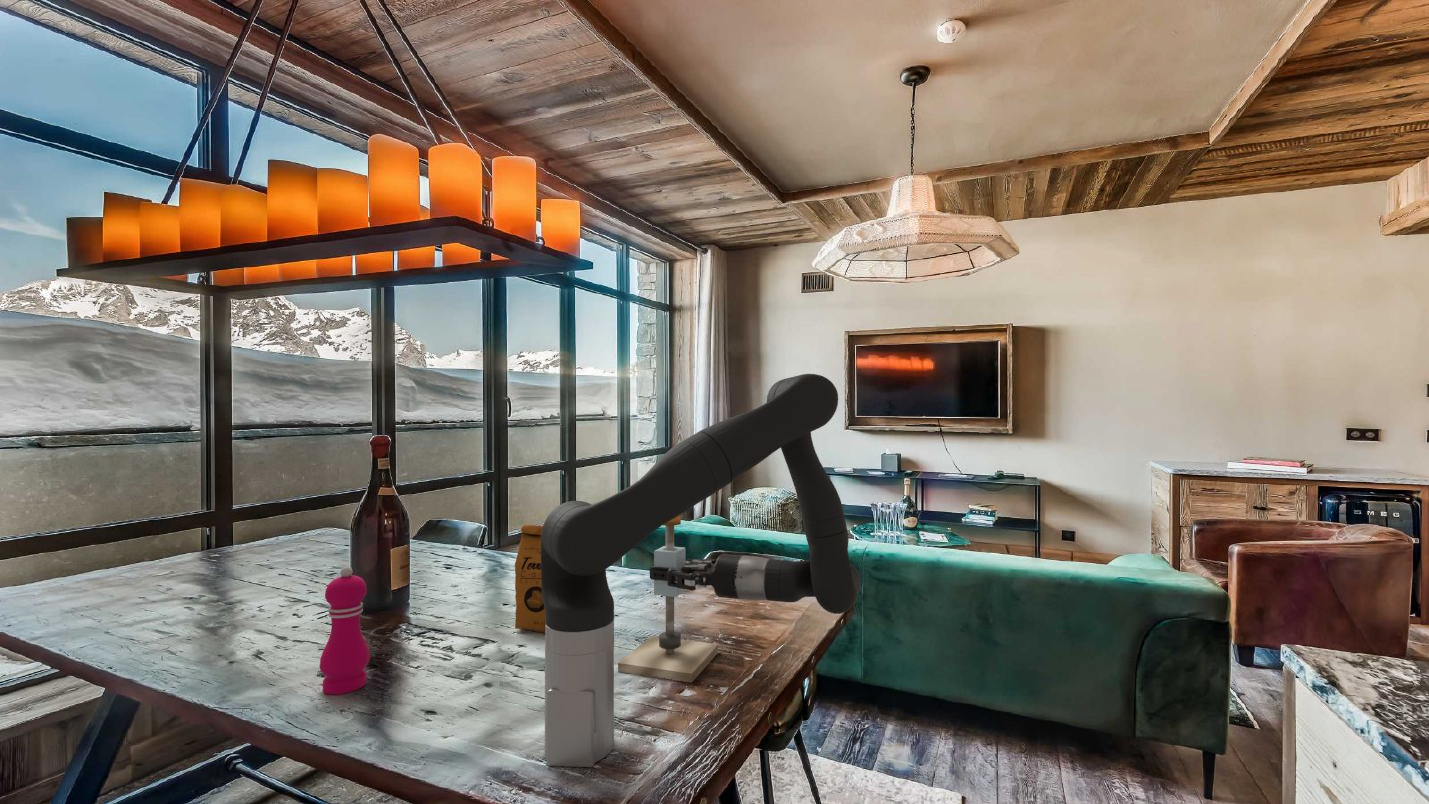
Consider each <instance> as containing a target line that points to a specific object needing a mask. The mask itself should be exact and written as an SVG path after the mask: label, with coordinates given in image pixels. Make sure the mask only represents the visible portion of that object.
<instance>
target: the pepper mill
mask: <svg viewBox="0 0 1429 804" xmlns="http://www.w3.org/2000/svg"><path fill="white" fill-rule="evenodd" d="M353 572H354V571H353V568H352V567H351V566H344V567H343V568H341V570H340V571H339V573H340V576H337V578H334V579H333V580H332V581H330V582H329V583H328V584H327V586H326V588H325V592H324V593H325V594H324V599H325V601H326V602H327V604H329V605H330V606H328V615H327V616H328V617H329V618H330V619H331V620H330V621H331V630H330V633H329V636H328V637H329V638H328V640H327V642H326V644H325V647H324V648H323V650H322V653H321V656H320V659H319V670H320V672H321V673H323V675H325V677H323V680H322V692H323V693H324V694H327V695H344V694H348V693H349V694H350V693H351V692H354V691H355V692H356V691H357V690H359V689H361V688H363V687H364V686H365V685H366V684H367V671H366V670H365V668H366V667H367V665H368V664H369V662H370V660H371V656H370V649H369V645H368V643H367V641H366V639H365V637H364V635H363V633H362V630H361V625H360V623H361V621H360V619H361V614H362V613H363V611H364V609H363V606H364V602H362V601H363V600H364V598H365V596H366V595H367V584H366V582H365V580H364V579H363V578H362V577H360V576H358V575H353Z"/></svg>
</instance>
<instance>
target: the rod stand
mask: <svg viewBox="0 0 1429 804" xmlns="http://www.w3.org/2000/svg"><path fill="white" fill-rule="evenodd" d="M681 515H682V514H680V515H679V516H677V517H676V518H674V519H672V520H670V521H669V522H667V523H665V524H664V525H662V526H664V527H665V546H666V550H667V551H674V547H675V526H681V523H682V521H681V520H682V517H681ZM681 638H682V635H681V633H680V632H678V631H675V597H671V596H665V631H664V632H661V633H659V635H658V636H654V635H651V636H650V637H649V638H648V639H646V640H645V641H643V643H641V644H640V645H638V646H637V647H636V648H635V649H634V650H632V651H631V652H630V653H628V654H627V655H626V656H625V657H623V659H621V660H620V661H618V662H617V672H620V673H624V674H625V673H626V674H633V675H639V676H646V677H653V678H660V679H664V678H665V679H666V680H671V679H672V681H678V682H679V681H680V682H685V683H693V682H694V681H695V680H696V679H697V677H698V676H699V675H700V673H702V672H703V670H704V669H705V668H706V667H707V666H708V665H709V664H710V663H711V661H712V660H713V659H714V658H715V656H717V654H719V644H715V643H709V642H702V641H700V642H699V641H693V640H687V639H686V640H683V639H681Z"/></svg>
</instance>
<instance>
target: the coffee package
mask: <svg viewBox="0 0 1429 804" xmlns="http://www.w3.org/2000/svg"><path fill="white" fill-rule="evenodd" d="M542 529H543V525H536V524H534V525H533V524H522V527H521V528H520V532H521V536H520V542H519V545H518V551H517V554H516V559H515V561H514V575H515V577H514V578H515V580H514V584H515V585H514V589H515V595H514V596H515V597H514V598H515V619H514V620H515V622H514V623H515V624H514V629H519V630H520V629H522V630H527V631H535V632H540V633H544V634H545V608H544V603H543V598H542V587H541V534H542Z"/></svg>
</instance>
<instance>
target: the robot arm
mask: <svg viewBox="0 0 1429 804" xmlns="http://www.w3.org/2000/svg"><path fill="white" fill-rule="evenodd" d="M837 389H838V388H837V387H836V386H835V384H834V383H833V382H832V381H831V380H830V379H829V378H827V377H825V376H823V375H821V374H817V373H816V374H815V373H803V374H799V375H794V376H791V377H787V378H782V379H780V380H778V381H776V382H775V383H774V384H773V385H772V386H770V389H769V390H768V393H767V395H766V402H765V403H763V404H762V405H760V406H758V407H756V408H753V409H751V410H748V411H745V412H743V413H741V414H737V415H734V416H731V417H729V418H726V419H724V420H721V421H719V422H716V423H714V424H712V425H710V426H708V427H705V428H704V429H703V428H702V430H699V431H697V432H696V433H694V434H692V435H690V436H688V437H687V438H686V439H684V440H682V441H680V442H678V443H677V444H676V445H674V446H673V447H671V448H670V449H668V451H666V452H665V453H664V454H663V455H662V456H661V457H660V458H659V459H658V460H657V461H656V462H655V464H654V465H653V466H652V467H651V468H650V469H649V470H648V471H647V472H646V473H645V474H644V475H643V476H642V477H641V478H639V480H637V481H635V482H634V483H633V484H631V485H630V486H628V487H626V488H624V489H623V490H620V491H618V492H617V493H615V494H612V495H611V496H609V497H606V498H604V499H602V500H601V501H599V502H596V503H593V504H592V503H589V502H587V501H582V500H571V501H566V502H562V503H561V504H559V505H558V506H556V507H555V508H553V509H552V511H550V513H549V514H548V515H547V517H546V519H545V521H544V523H543V525H542V526H543V529H542V534H541V587H542V598H543V603H544V608H545V633H544V634H545V635H544V637H545V638H544V639H545V640H544V642H545V644H544V645H545V646H544V657H545V658H544V755H545V757H546V759H545V761H546V763H545V765H546V766H548V767H549V766H554V767H573V768H574V767H575V768H576V767H578V768H579V767H580V768H585V767H586V768H593V767H594V766H595V764H596V763H597V762H598V761H600V760H602V759H604V758H605V757H607V756H608V755H609V754H610V753H611V752H612V751H613V748H614V747H615V745H614V744H615V736H614V735H615V728H614V727H615V714H614V713H615V670H614V669H615V600H614V597H613V594H612V592H611V590H610V586H609V584H608V578H607V569H608V568H610V567H611V566H613V565H614V564H615V563H617V562H618V561H619V560H621V558H623V557H624V556H625V555H626V554H627V553H629V552H630V551H631V550H633V549H634V548H635V547H636V546H637V545H638V544H640V543H642V541H643V540H645V539H646V538H648V537H649V536H650V535H651V534H652V533H654V532H655V531H656V530H658V529H659V528H661V527H662V526H663V525H664V524H665V523H667V522H669V521H670V520H672V519H674V518H676V517H677V516H679V515H682V514H684V513H685V512H687V511H688V510H690V509H692V508H693V507H695V506H696V505H697V504H700V503H701V502H703V501H704V500H705V499H708V498H709V497H711V496H713V495H714V494H716V493H718V492H719V491H720V490H722V489H724V488H725V487H727V486H728V485H730V484H731V483H733V482H734V481H735V480H736V479H738V478H739V477H741V476H742V475H744V474H746V473H747V472H748V471H750V470H751V469H752V468H754V467H756V466H757V465H758V464H760V463H762V462H763V461H764V460H765V459H767V458H768V457H770V456H771V455H772V454H774V453H775V452H776V451H778V450H779V449H780V450H781V453H782V455H783V458H784V461H785V463H786V466H787V469H788V471H789V474H790V477H791V480H792V483H793V486H794V487H793V488H794V489H795V494H796V497H797V501H798V505H799V510H800V514H801V519H802V524H803V529H804V533H805V537H806V542H807V546H808V551H809V559H804V560H797V561H793V560H786V559H775V558H774V559H772V558H766V557H762V556H755V555H754V556H753V555H743V554H742V555H741V554H739V555H738V554H729V553H722V554H719V556H718V557H717V558H687V560H685V565H683V566H682V567H681V568H664V567H654V566H652V567H650V568H649V579H650V580H653V581H654V580H661V581H668V583H667V585H668V586H672V587H677V588H681V589H685V591H686V590H688V591H691V592H692V591H696V589H697V588H699V589H700V588H707V587H708V586H711V587H712V588H713V589H714V593H715V595H716V597H718V598H723V599H724V598H725V599H733V600H734V599H735V600H741V601H742V600H743V601H744V600H745V601H757V602H758V601H769V602H770V601H772V602H779V603H780V602H781V603H795V602H798V601H800V600H802V599H803V598H815V600H816V601H817V603H818V604H819V606H820V607H821V608H822V609H824V611H826V612H828V613H830V614H833V615H834V614H835V615H841V614H845V613H847V612H848V611H849V610H851V609H852V608H853V606H854V605H855V604H856V602H857V598H858V595H859V592H860V591H859V590H860V588H861V584H862V583H861V581H862V580H861V575H860V573H859V571H858V568H856V567H855V565H853V564H852V563H851V561H850V556H849V550H848V549H849V532H848V528H847V526H848V525H847V521H846V516H845V513H844V509H843V504H842V501H841V498H840V495H839V493H838V491H837V488H836V487H835V485H834V483H833V481H832V480H831V478H830V476H829V474H828V473H827V471H826V470H825V468H824V466H823V464H822V463H821V461H820V459H819V457H818V454H817V452H816V449H815V446H814V443H813V438H812V432H814V431H816V430H818V429H820V428H823V427H824V426H825V425H827V424H828V423H829V422H830V421H831V420H832V419H833V417H834V415H835V414H836V412H837V409H838V405H839V393H838V390H837ZM675 576H676V577H677V579H675Z"/></svg>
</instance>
